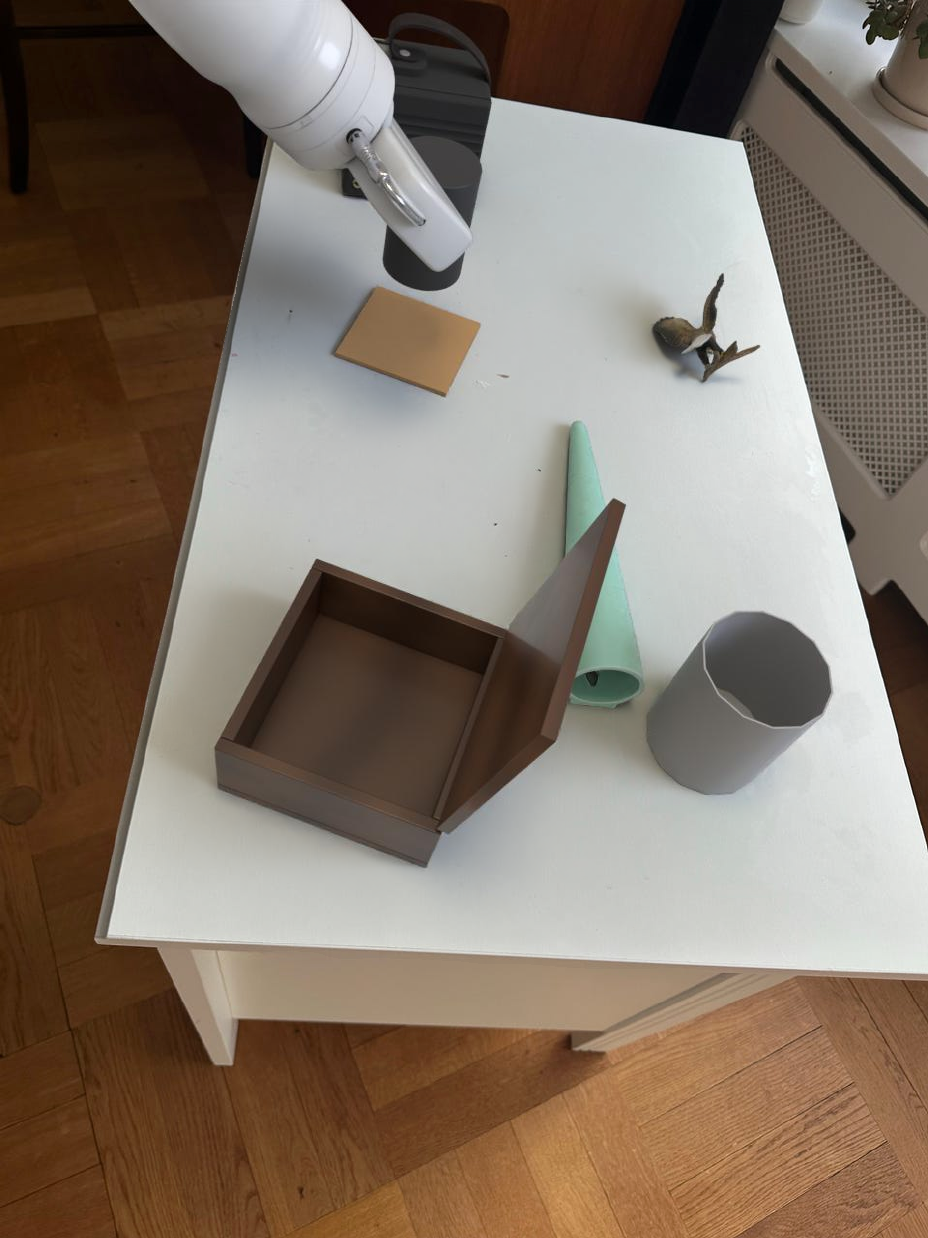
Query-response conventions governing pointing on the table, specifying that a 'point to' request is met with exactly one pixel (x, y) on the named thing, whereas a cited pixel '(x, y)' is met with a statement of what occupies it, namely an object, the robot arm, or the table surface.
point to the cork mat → (409, 340)
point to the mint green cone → (612, 622)
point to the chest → (360, 712)
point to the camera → (435, 88)
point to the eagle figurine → (702, 335)
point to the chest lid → (533, 673)
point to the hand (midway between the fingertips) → (437, 211)
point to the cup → (738, 702)
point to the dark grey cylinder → (461, 184)
